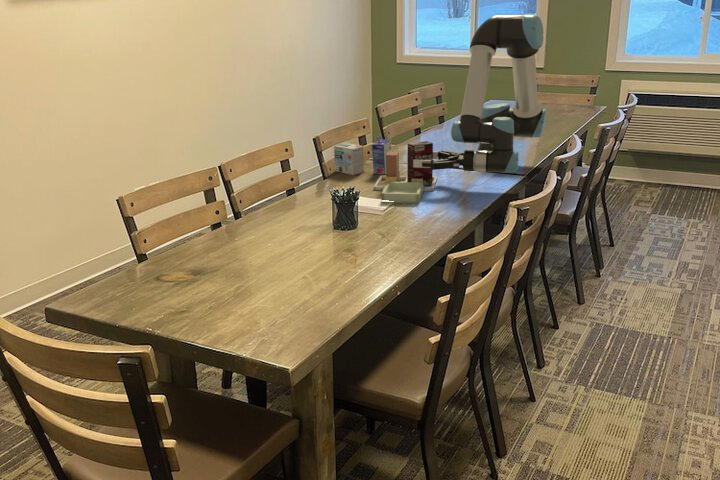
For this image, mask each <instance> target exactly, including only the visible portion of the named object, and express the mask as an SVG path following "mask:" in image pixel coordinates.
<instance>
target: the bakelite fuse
mask: <svg viewBox="0 0 720 480" xmlns="http://www.w3.org/2000/svg"><path fill="white" fill-rule="evenodd" d="M399 171H400V153H399V151H398V150H397V151H396V150H395V151H393V150H391V151H388V153H387V154H386V174H385V176H386V177H397V182H399Z"/></svg>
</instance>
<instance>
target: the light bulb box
mask: <svg viewBox="0 0 720 480" xmlns="http://www.w3.org/2000/svg"><path fill="white" fill-rule="evenodd" d="M333 149H334V150H333V151H334V152H333V153H334V171H335V172H338V173H343V174H346V175H351V176H354V175H358V174H361V173H364V172H365V169H364V168H365V166H364V165H365V164H364V162H365V161H364V145H360V144H359V145H358V144H354V143H353V144H352V143H347V142H343V143H339V144H336V145H334V147H333Z"/></svg>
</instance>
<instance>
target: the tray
mask: <svg viewBox="0 0 720 480" xmlns="http://www.w3.org/2000/svg"><path fill="white" fill-rule="evenodd" d="M384 186H385V188H384V190H381V191H382V192H381V193H380V194H381V196H380V197H381V200H389V201H394V202H395V203H394V204H420V202H421V199H422V196H423V193H424V191H423V187H424V186H423V183H420V182H405V181H400V182H388V183H387V184H386V183H385V185H384Z"/></svg>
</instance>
